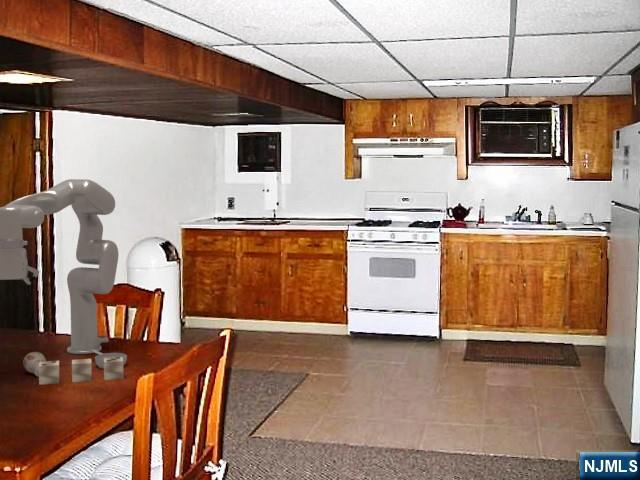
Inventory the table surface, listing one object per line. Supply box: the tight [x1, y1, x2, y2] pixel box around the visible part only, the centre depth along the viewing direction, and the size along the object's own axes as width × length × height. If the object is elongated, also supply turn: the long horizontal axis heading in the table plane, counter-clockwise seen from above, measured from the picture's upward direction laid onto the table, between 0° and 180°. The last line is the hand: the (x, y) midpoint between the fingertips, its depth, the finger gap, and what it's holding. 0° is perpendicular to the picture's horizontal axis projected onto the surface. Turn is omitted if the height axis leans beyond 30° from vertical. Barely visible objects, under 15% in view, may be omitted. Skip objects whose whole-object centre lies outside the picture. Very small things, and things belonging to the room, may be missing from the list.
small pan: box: [91, 350, 128, 370], centre depth 270 cm, size 11×18×4 cm, turn 47°
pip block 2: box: [103, 357, 125, 381], centre depth 252 cm, size 6×6×6 cm
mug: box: [22, 351, 47, 378], centre depth 256 cm, size 8×10×10 cm
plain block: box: [71, 358, 93, 383], centre depth 250 cm, size 6×6×6 cm
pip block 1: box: [38, 360, 60, 386], centre depth 247 cm, size 6×6×6 cm
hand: (11, 296), depth 250 cm, fingers open, 9 cm apart
